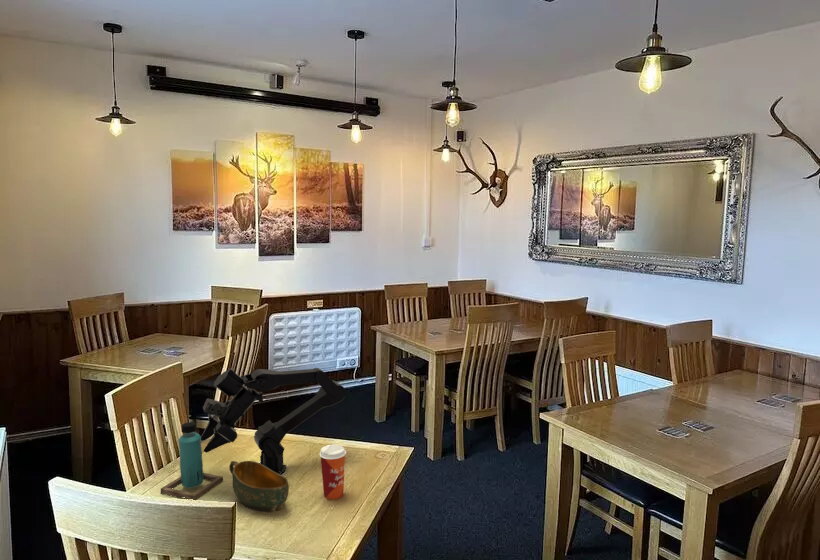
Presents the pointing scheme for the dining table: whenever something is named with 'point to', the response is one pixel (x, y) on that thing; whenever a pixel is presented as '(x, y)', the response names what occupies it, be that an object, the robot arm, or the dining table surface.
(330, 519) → the dining table surface
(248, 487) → the green bowl
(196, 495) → the walnut collar
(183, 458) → the beverage bottle
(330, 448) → the paper cup
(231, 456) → the dining table surface
